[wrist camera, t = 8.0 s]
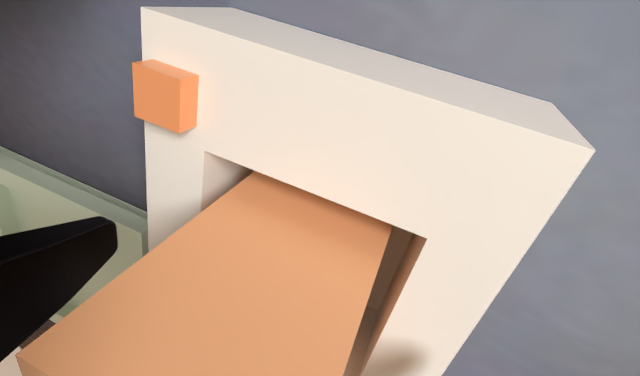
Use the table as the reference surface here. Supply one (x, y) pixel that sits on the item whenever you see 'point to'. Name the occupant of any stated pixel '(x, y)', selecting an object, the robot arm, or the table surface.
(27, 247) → the robot arm
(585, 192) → the table surface
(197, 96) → the outlet strip
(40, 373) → the plug
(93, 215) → the tray
